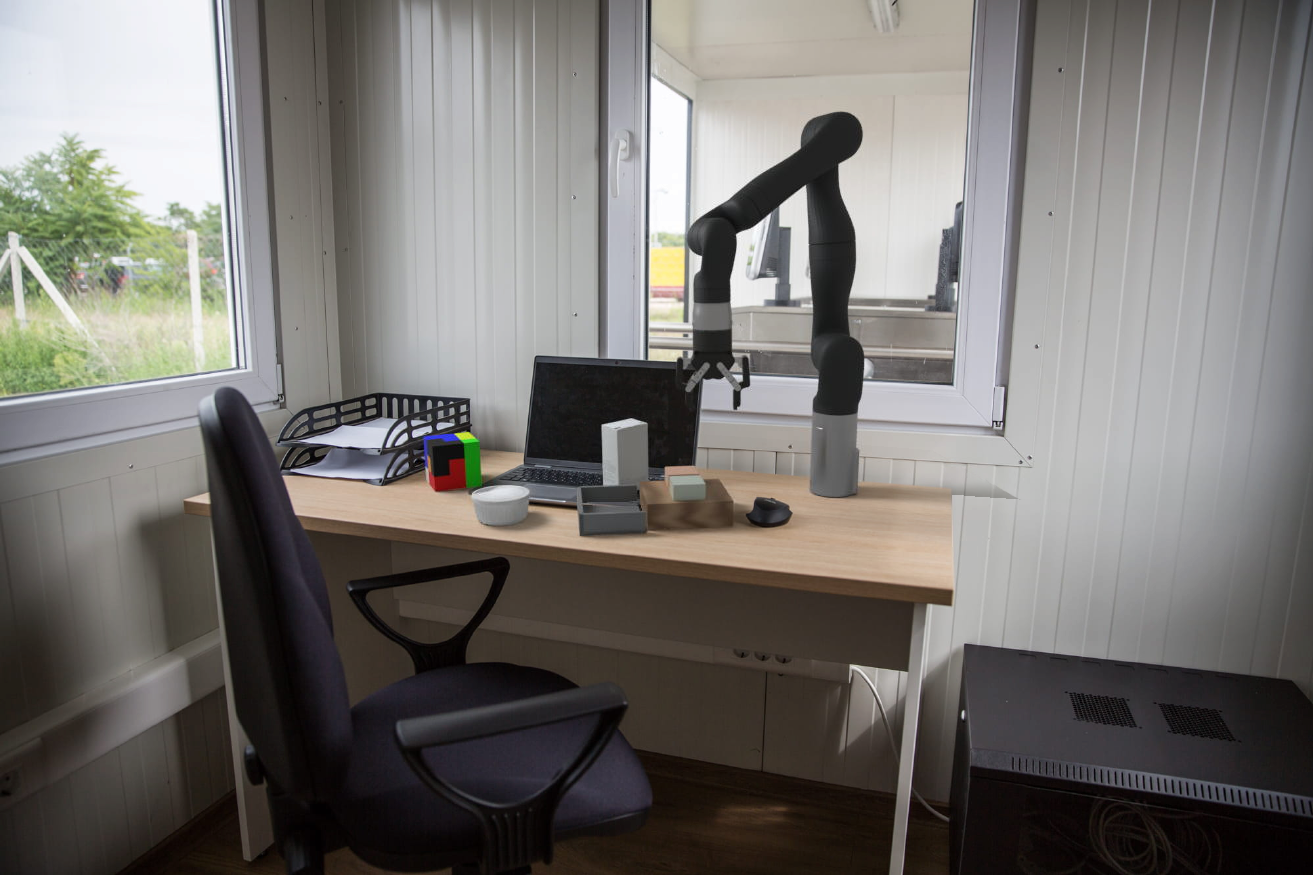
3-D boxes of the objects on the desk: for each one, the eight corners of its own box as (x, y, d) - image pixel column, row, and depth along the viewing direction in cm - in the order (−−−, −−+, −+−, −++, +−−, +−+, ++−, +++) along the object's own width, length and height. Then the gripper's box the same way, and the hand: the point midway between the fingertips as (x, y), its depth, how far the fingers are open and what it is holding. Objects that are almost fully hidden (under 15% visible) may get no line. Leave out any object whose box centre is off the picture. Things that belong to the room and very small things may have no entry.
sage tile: (700, 490, 168) (700, 475, 167) (705, 499, 162) (705, 484, 161) (669, 491, 167) (669, 476, 166) (673, 500, 161) (673, 485, 161)
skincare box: (632, 484, 190) (631, 417, 186) (650, 490, 185) (649, 422, 182) (601, 491, 185) (600, 422, 181) (618, 498, 180) (617, 427, 177)
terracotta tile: (694, 480, 175) (694, 465, 174) (699, 488, 169) (699, 473, 168) (664, 481, 174) (664, 466, 173) (668, 489, 168) (668, 474, 167)
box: (636, 503, 176) (636, 484, 176) (645, 533, 159) (645, 512, 158) (577, 505, 175) (576, 486, 174) (579, 535, 158) (579, 514, 157)
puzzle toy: (426, 480, 194) (423, 436, 192) (471, 475, 198) (468, 432, 196) (435, 492, 185) (432, 446, 183) (481, 486, 189) (479, 441, 187)
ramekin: (497, 506, 175) (496, 481, 174) (543, 514, 170) (542, 488, 169) (460, 522, 166) (458, 496, 164) (507, 532, 160) (506, 504, 159)
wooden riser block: (718, 502, 177) (718, 478, 176) (733, 526, 162) (733, 500, 161) (639, 505, 175) (639, 481, 174) (647, 530, 161) (647, 504, 159)
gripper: (747, 323, 169) (747, 405, 173) (674, 325, 169) (675, 406, 173) (751, 327, 162) (751, 413, 166) (675, 329, 162) (676, 414, 166)
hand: (713, 409), depth 170 cm, fingers open, 8 cm apart
